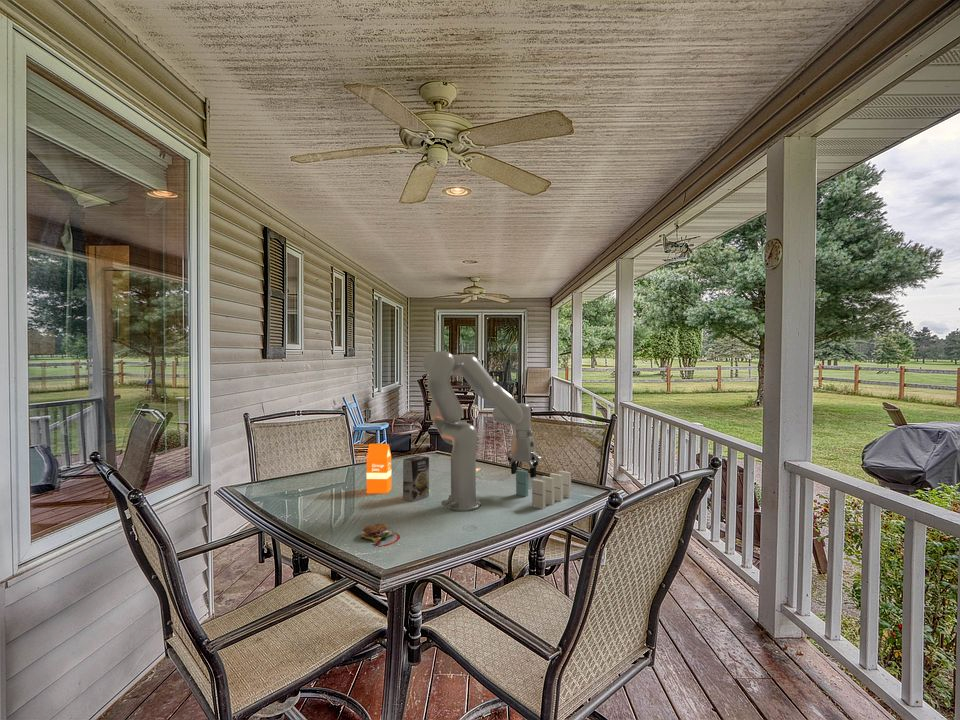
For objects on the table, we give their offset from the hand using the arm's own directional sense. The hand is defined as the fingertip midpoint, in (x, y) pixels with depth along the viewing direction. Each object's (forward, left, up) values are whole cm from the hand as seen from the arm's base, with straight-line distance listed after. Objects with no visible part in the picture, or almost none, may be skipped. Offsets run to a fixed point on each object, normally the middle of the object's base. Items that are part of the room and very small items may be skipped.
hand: (523, 475), depth 185 cm
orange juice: (-36, +50, -8) cm, 62 cm away
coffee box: (-32, +30, -8) cm, 45 cm away
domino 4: (+3, -14, -8) cm, 16 cm away
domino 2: (-9, -14, -8) cm, 18 cm away
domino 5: (+9, -14, -8) cm, 18 cm away
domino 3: (-3, -14, -8) cm, 16 cm away
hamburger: (-67, +6, -9) cm, 68 cm away
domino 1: (-1, 0, -8) cm, 8 cm away
